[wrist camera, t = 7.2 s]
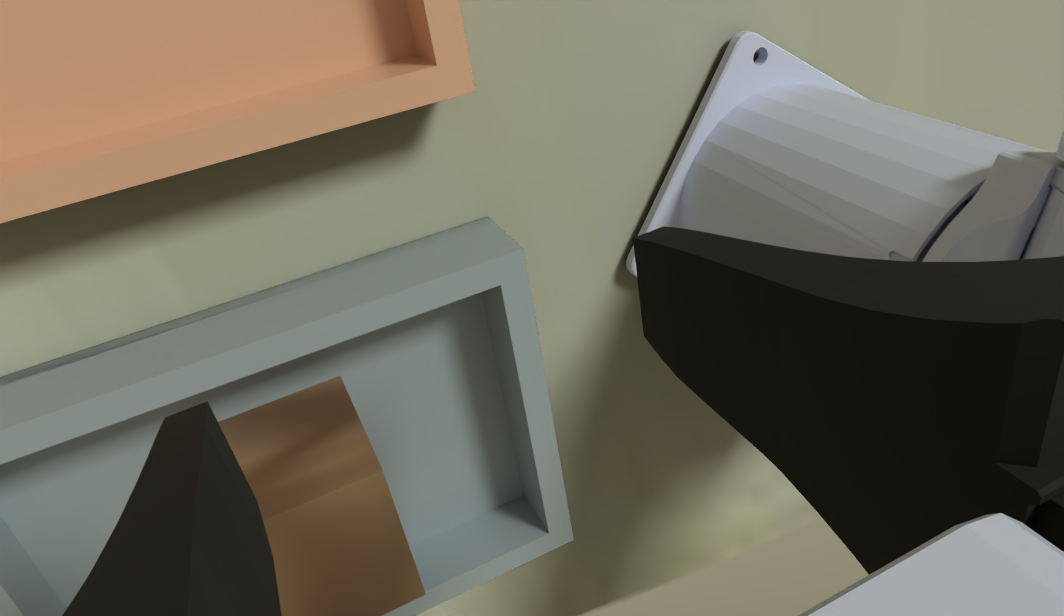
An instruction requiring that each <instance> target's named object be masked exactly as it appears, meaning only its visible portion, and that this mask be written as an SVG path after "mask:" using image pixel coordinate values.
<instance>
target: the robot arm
mask: <svg viewBox="0 0 1064 616" xmlns="http://www.w3.org/2000/svg"><path fill="white" fill-rule="evenodd" d="M757 49H759V55H758V58H757V60H756V61H755V62H754V60H753V57H754V53H755V52H756V50H757ZM633 244H634V245H633V247H632V249H631V251H630V253H629V255H628V258H627V261H626V266H627V269H628V271H629V272H630V273H631V274H633V275H634V276H636V277H637V279H638V288H639V296H640V305H641V314H642V323H643V332H644V337H645V338H646V339H647V341H648V342H649V343H650V344H651V346H652V347H653V348H654V350H655V351H656V352H657V353H658V355H659V356H660V357H661V358H662V360H663V361H664V362H665V363H666V364H667V365H668V367H669V368H670V369H671V370H672V371H673V372H674V374H675V375H676V376H677V377H678V378H679V379H680V380H681V381H682V382H684V383H685V384H686V385H687V386H688V387H689V388H690V389H691V390H692V391H693V392H694V393H696V394H697V395H698V396H699V397H700V398H701V399H702V400H703V401H704V402H705V403H707V404H708V405H709V406H710V407H711V408H712V409H713V410H714V411H716V412H717V413H718V414H719V415H720V416H721V417H722V418H723V419H725V420H726V421H727V422H728V423H729V424H730V425H731V426H732V427H734V428H735V429H736V430H737V431H738V432H739V433H740V434H741V435H743V436H744V437H745V438H746V439H747V440H748V441H749V442H750V443H752V444H753V445H754V446H755V447H756V448H757V449H758V450H759V451H761V452H762V453H763V454H764V455H765V456H766V457H767V458H768V459H769V460H770V461H771V462H772V463H773V464H774V465H775V466H776V467H777V468H778V469H779V470H780V471H781V472H782V473H783V474H784V475H785V476H786V477H787V478H788V480H789V481H790V482H791V483H792V484H793V485H794V486H795V487H796V488H797V490H798V491H799V492H800V493H801V494H802V495H803V496H804V497H805V499H806V500H807V501H808V502H809V503H810V504H811V505H812V506H813V507H814V509H815V510H816V511H817V512H818V513H819V514H820V516H821V517H822V518H823V519H824V520H825V521H826V523H827V524H828V525H829V526H830V527H831V528H832V530H833V531H834V532H835V533H836V534H837V536H838V537H839V538H840V539H841V540H842V542H843V543H844V544H845V545H846V546H847V548H848V549H849V550H850V551H851V552H852V554H854V556H855V557H856V559H857V560H858V561H859V562H860V564H861V565H862V566H863V567H864V569H865V570H866V571H867V572H868V574H869V575H868V576H866V577H865V578H863V579H861V580H860V581H858V582H856V583H854V584H852V585H851V586H849V587H847V588H845V589H844V590H842V591H840V592H838V593H837V594H835V595H833V596H832V597H830V598H828V599H826V600H824V601H823V602H821V603H819V604H817V605H816V606H814V607H812V608H810V609H809V610H807V611H805V612H804V613H802V614H800V615H798V616H1064V132H1063V133H1062V136H1061V140H1060V143H1059V147H1058V151H1057V153H1056V152H1049V151H1046V150H1042V149H1039V148H1035V147H1032V146H1028V145H1025V144H1021V143H1018V142H1014V141H1011V140H1007V139H1004V138H1000V137H997V136H993V135H989V134H986V133H982V132H979V131H975V130H972V129H968V128H965V127H961V126H958V125H954V124H951V123H947V122H944V121H940V120H937V119H933V118H929V117H926V116H922V115H919V114H915V113H912V112H908V111H905V110H901V109H898V108H894V107H891V106H887V105H884V104H880V103H877V102H873V101H870V100H868V99H867V98H865V97H863V96H862V95H860V94H858V93H856V92H855V91H853V90H851V89H850V88H848V87H846V86H845V85H843V84H841V83H840V82H838V81H836V80H834V79H833V78H831V77H829V76H828V75H826V74H824V73H823V72H821V71H819V70H818V69H816V68H814V67H812V66H811V65H809V64H807V63H806V62H804V61H802V60H801V59H799V58H797V57H796V56H794V55H792V54H790V53H789V52H787V51H785V50H784V49H782V48H780V47H779V46H777V45H775V44H774V43H772V42H770V41H768V40H767V39H765V38H763V37H762V36H760V35H758V34H757V33H753V32H749V31H745V30H744V31H740V32H738V33H737V34H736V35H734V36H733V38H732V39H731V41H730V43H729V45H728V47H727V49H726V51H725V53H724V55H723V58H722V60H721V62H720V64H719V66H718V68H717V70H716V72H715V74H714V76H713V79H712V81H711V83H710V85H709V87H708V89H707V91H706V93H705V95H704V97H703V100H702V102H701V104H700V106H699V108H698V110H697V112H696V114H695V116H694V118H693V121H692V123H691V125H690V127H689V129H688V131H687V133H686V135H685V137H684V139H683V142H682V144H681V146H680V148H679V150H678V152H677V154H676V156H675V158H674V161H673V163H672V165H671V167H670V169H669V171H668V173H667V175H666V177H665V179H664V182H663V184H662V186H661V188H660V190H659V192H658V194H657V196H656V198H655V200H654V203H653V205H652V207H651V209H650V211H649V213H648V215H647V217H646V219H645V221H644V224H643V226H642V228H641V230H640V232H639V234H638V236H637V237H634V238H633ZM62 616H282V615H281V608H280V601H279V594H278V587H277V580H276V573H275V567H274V560H273V555H272V551H271V547H270V544H269V540H268V537H267V533H266V529H265V526H264V523H263V519H262V516H261V512H260V509H259V505H258V502H257V499H256V497H255V495H254V493H253V491H252V489H251V487H250V485H249V483H248V481H247V479H246V477H245V475H244V473H243V471H242V469H241V467H240V465H239V463H238V461H237V459H236V457H235V455H234V453H233V451H232V449H231V447H230V445H229V443H228V441H227V439H226V437H225V435H224V433H223V431H222V429H221V427H220V425H219V423H218V421H217V419H216V417H215V415H214V413H213V411H212V409H211V407H210V405H209V403H208V401H207V402H204V403H201V404H199V405H196V406H194V407H191V408H188V409H186V410H183V411H181V412H178V413H175V414H173V415H170V416H168V417H165V418H164V420H163V422H162V424H161V426H160V428H159V431H158V433H157V435H156V438H155V440H154V442H153V445H152V447H151V450H150V452H149V454H148V457H147V459H146V462H145V464H144V466H143V468H142V471H141V473H140V475H139V478H138V480H137V482H136V484H135V487H134V489H133V491H132V493H131V495H130V497H129V499H128V501H127V503H126V506H125V508H124V510H123V512H122V514H121V516H120V518H119V520H118V522H117V524H116V526H115V528H114V530H113V532H112V534H111V536H110V537H109V539H108V541H107V543H106V545H105V547H104V548H103V550H102V552H101V554H100V556H99V558H98V559H97V561H96V563H95V565H94V567H93V569H92V570H91V572H90V574H89V575H88V577H87V579H86V580H85V582H84V583H83V585H82V586H81V588H80V590H79V591H78V593H77V594H76V596H75V597H74V599H73V600H72V602H71V603H70V605H69V606H68V608H67V609H66V611H65V612H64V613H63V615H62Z"/></svg>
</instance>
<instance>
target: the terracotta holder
mask: <svg viewBox="0 0 1064 616" xmlns="http://www.w3.org/2000/svg"><path fill="white" fill-rule="evenodd" d="M474 91H475V86H474V80H473V75H472V69H471V64H470V59H469V53H468V48H467V43H466V37H465V32H464V26H463V21H462V16H461V10H460V5H459V0H0V223H4V222H7V221H11V220H15V219H18V218H22V217H25V216H29V215H32V214H36V213H40V212H43V211H47V210H50V209H54V208H58V207H61V206H65V205H68V204H72V203H76V202H79V201H83V200H86V199H90V198H94V197H97V196H101V195H104V194H108V193H112V192H115V191H119V190H122V189H126V188H129V187H133V186H137V185H140V184H144V183H147V182H151V181H155V180H158V179H162V178H165V177H169V176H173V175H176V174H180V173H183V172H187V171H191V170H194V169H198V168H201V167H205V166H209V165H212V164H216V163H219V162H223V161H226V160H230V159H234V158H237V157H241V156H244V155H248V154H252V153H255V152H259V151H262V150H266V149H270V148H273V147H277V146H280V145H284V144H288V143H291V142H295V141H298V140H302V139H306V138H309V137H313V136H316V135H320V134H323V133H327V132H331V131H334V130H338V129H341V128H345V127H349V126H352V125H356V124H359V123H363V122H367V121H370V120H374V119H377V118H381V117H385V116H388V115H392V114H395V113H399V112H403V111H406V110H410V109H413V108H417V107H420V106H424V105H428V104H431V103H435V102H438V101H442V100H446V99H449V98H453V97H456V96H460V95H464V94H467V93H471V92H474Z"/></svg>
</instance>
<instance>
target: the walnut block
mask: <svg viewBox="0 0 1064 616" xmlns="http://www.w3.org/2000/svg"><path fill="white" fill-rule="evenodd" d="M218 423H219V425H220V427H221V429H222V431H223V433H224V435H225V437H226V439H227V441H228V443H229V445H230V447H231V449H232V451H233V453H234V455H235V457H236V459H237V461H238V463H239V465H240V467H241V469H242V471H243V473H244V475H245V477H246V479H247V481H248V483H249V485H250V487H251V489H252V491H253V493H254V495H255V497H256V499H257V502H258V505H259V509H260V512H261V516H262V519H263V523H264V526H265V529H266V533H267V537H268V540H269V544H270V547H271V551H272V555H273V560H274V567H275V573H276V580H277V587H278V594H279V601H280V608H281V615H282V616H382V615H384V614H386V613H388V612H390V611H392V610H395V609H397V608H399V607H401V606H403V605H405V604H407V603H409V602H411V601H413V600H416V599H418V598H420V597H422V596H424V595H426V593H425V590H424V587H423V584H422V582H421V579H420V576H419V573H418V570H417V567H416V564H415V562H414V559H413V556H412V553H411V550H410V547H409V544H408V541H407V539H406V536H405V533H404V530H403V527H402V524H401V521H400V519H399V516H398V513H397V510H396V507H395V504H394V501H393V498H392V496H391V493H390V490H389V487H388V484H387V481H386V478H385V475H384V473H383V470H382V468H381V465H380V463H379V461H378V459H377V456H376V454H375V452H374V450H373V448H372V445H371V443H370V441H369V439H368V436H367V434H366V432H365V430H364V427H363V425H362V423H361V421H360V419H359V416H358V414H357V412H356V410H355V407H354V405H353V403H352V401H351V398H350V396H349V394H348V392H347V390H346V387H345V385H344V383H343V381H342V378H341V376H337V377H335V378H332V379H329V380H327V381H324V382H321V383H319V384H316V385H314V386H311V387H308V388H306V389H303V390H300V391H298V392H295V393H293V394H290V395H287V396H285V397H282V398H279V399H277V400H274V401H272V402H269V403H266V404H264V405H261V406H258V407H256V408H253V409H251V410H248V411H245V412H243V413H240V414H237V415H235V416H232V417H230V418H227V419H224V420H222V421H219V422H218Z"/></svg>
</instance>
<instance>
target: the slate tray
mask: <svg viewBox="0 0 1064 616" xmlns="http://www.w3.org/2000/svg"><path fill="white" fill-rule="evenodd" d="M337 376H341V378H342V381H343V383H344V385H345V387H346V390H347V392H348V394H349V396H350V398H351V401H352V403H353V405H354V407H355V410H356V412H357V414H358V416H359V419H360V421H361V423H362V425H363V427H364V430H365V432H366V434H367V436H368V439H369V441H370V443H371V445H372V448H373V450H374V452H375V454H376V456H377V459H378V461H379V463H380V465H381V468H382V470H383V473H384V475H385V478H386V481H387V484H388V487H389V490H390V493H391V496H392V498H393V501H394V504H395V507H396V510H397V513H398V516H399V519H400V521H401V524H402V527H403V530H404V533H405V536H406V539H407V541H408V544H409V547H410V550H411V553H412V556H413V559H414V562H415V564H416V567H417V570H418V573H419V576H420V579H421V582H422V584H423V587H424V590H425V593H426V595H424V596H422V597H420V598H418V599H416V600H413V601H411V602H409V603H407V604H405V605H403V606H401V607H399V608H397V609H395V610H392V611H390V612H388V613H386V614H384V615H382V616H415V615H417V614H419V613H421V612H423V611H426V610H428V609H430V608H432V607H434V606H436V605H438V604H440V603H442V602H445V601H447V600H449V599H451V598H453V597H455V596H457V595H459V594H461V593H463V592H466V591H468V590H470V589H472V588H474V587H476V586H478V585H480V584H482V583H485V582H487V581H489V580H491V579H493V578H495V577H497V576H499V575H501V574H503V573H506V572H508V571H510V570H512V569H514V568H516V567H518V566H520V565H522V564H525V563H527V562H529V561H531V560H533V559H535V558H537V557H539V556H541V555H543V554H546V553H548V552H550V551H552V550H554V549H556V548H558V547H560V546H562V545H565V544H567V543H569V542H571V541H573V540H574V538H573V532H572V527H571V521H570V515H569V509H568V503H567V497H566V492H565V486H564V480H563V474H562V468H561V463H560V457H559V451H558V445H557V439H556V434H555V428H554V422H553V416H552V410H551V405H550V399H549V393H548V387H547V381H546V376H545V370H544V364H543V358H542V352H541V347H540V341H539V335H538V329H537V323H536V317H535V312H534V306H533V300H532V294H531V288H530V283H529V277H528V271H527V265H526V259H525V254H524V248H522V247H521V246H520V245H519V244H518V243H517V242H516V241H515V240H513V239H512V238H511V237H510V236H509V235H508V234H507V233H506V232H505V231H503V230H502V229H501V228H500V227H499V226H498V225H497V224H496V223H495V222H493V221H492V220H491V219H490V218H489V217H485V218H482V219H479V220H476V221H473V222H470V223H467V224H464V225H461V226H458V227H454V228H451V229H448V230H445V231H442V232H439V233H436V234H433V235H430V236H427V237H424V238H421V239H418V240H415V241H412V242H409V243H406V244H403V245H400V246H397V247H394V248H391V249H388V250H385V251H382V252H379V253H376V254H373V255H370V256H367V257H363V258H360V259H357V260H354V261H351V262H348V263H345V264H342V265H339V266H336V267H333V268H330V269H327V270H324V271H321V272H318V273H315V274H312V275H309V276H306V277H303V278H300V279H297V280H294V281H291V282H288V283H285V284H282V285H279V286H276V287H272V288H269V289H266V290H263V291H260V292H257V293H254V294H251V295H248V296H245V297H242V298H239V299H236V300H233V301H230V302H227V303H224V304H221V305H218V306H215V307H212V308H209V309H206V310H203V311H200V312H197V313H194V314H191V315H188V316H185V317H181V318H178V319H175V320H172V321H169V322H166V323H163V324H160V325H157V326H154V327H151V328H148V329H145V330H142V331H139V332H136V333H133V334H130V335H127V336H124V337H121V338H118V339H115V340H112V341H109V342H106V343H103V344H100V345H97V346H94V347H90V348H87V349H84V350H81V351H78V352H75V353H72V354H69V355H66V356H63V357H60V358H57V359H54V360H51V361H48V362H45V363H42V364H39V365H36V366H33V367H30V368H27V369H24V370H21V371H18V372H15V373H12V374H9V375H6V376H3V377H0V616H62V615H63V613H64V612H65V611H66V609H67V608H68V606H69V605H70V603H71V602H72V600H73V599H74V597H75V596H76V594H77V593H78V591H79V590H80V588H81V586H82V585H83V583H84V582H85V580H86V579H87V577H88V575H89V574H90V572H91V570H92V569H93V567H94V565H95V563H96V561H97V559H98V558H99V556H100V554H101V552H102V550H103V548H104V547H105V545H106V543H107V541H108V539H109V537H110V536H111V534H112V532H113V530H114V528H115V526H116V524H117V522H118V520H119V518H120V516H121V514H122V512H123V510H124V508H125V506H126V503H127V501H128V499H129V497H130V495H131V493H132V491H133V489H134V487H135V484H136V482H137V480H138V478H139V475H140V473H141V471H142V468H143V466H144V464H145V462H146V459H147V457H148V454H149V452H150V450H151V447H152V445H153V442H154V440H155V438H156V435H157V433H158V431H159V428H160V426H161V424H162V422H163V420H164V418H165V417H168V416H170V415H173V414H175V413H178V412H181V411H183V410H186V409H188V408H191V407H194V406H196V405H199V404H201V403H204V402H207V401H208V403H209V405H210V407H211V409H212V411H213V413H214V415H215V417H216V419H217V421H218V422H219V421H222V420H224V419H227V418H230V417H232V416H235V415H237V414H240V413H243V412H245V411H248V410H251V409H253V408H256V407H258V406H261V405H264V404H266V403H269V402H272V401H274V400H277V399H279V398H282V397H285V396H287V395H290V394H293V393H295V392H298V391H300V390H303V389H306V388H308V387H311V386H314V385H316V384H319V383H321V382H324V381H327V380H329V379H332V378H335V377H337Z"/></svg>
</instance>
